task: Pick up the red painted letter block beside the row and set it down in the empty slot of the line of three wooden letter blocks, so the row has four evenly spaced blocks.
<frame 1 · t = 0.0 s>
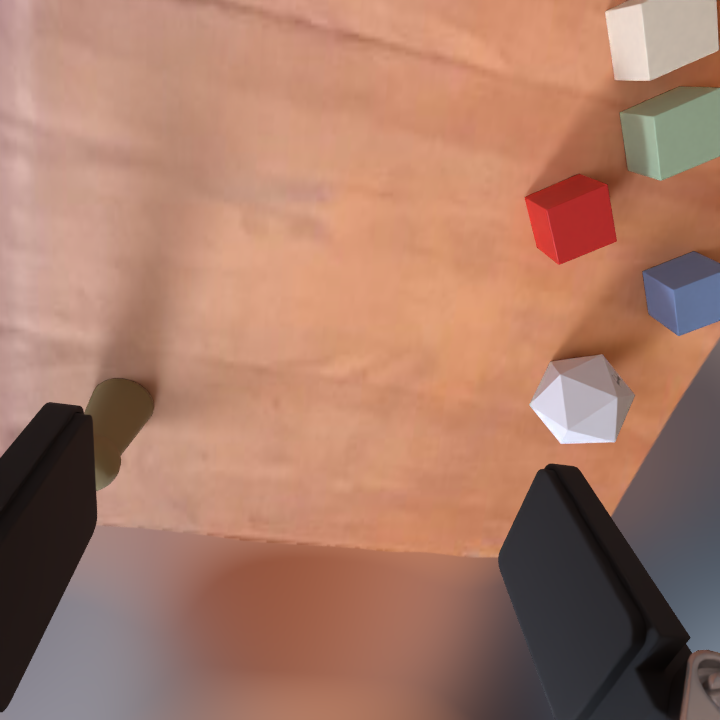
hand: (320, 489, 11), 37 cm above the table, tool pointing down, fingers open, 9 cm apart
die: (563, 378, 55), on the table
blue block: (670, 283, 50), on the table
red block: (557, 211, 46), on the table
cork: (123, 402, 53), on the table
cream block: (641, 32, 40), on the table
sage block: (652, 129, 43), on the table
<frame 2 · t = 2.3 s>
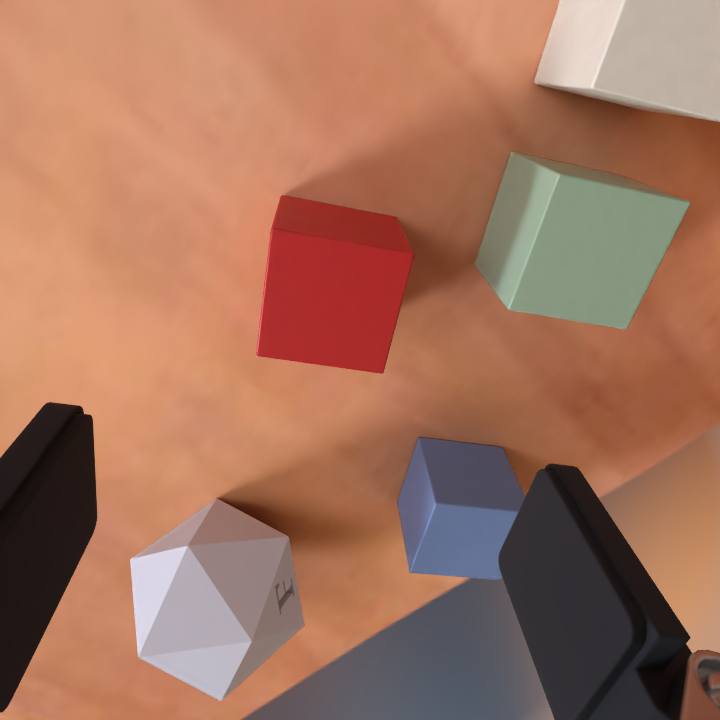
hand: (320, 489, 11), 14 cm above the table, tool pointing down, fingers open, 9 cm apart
die: (230, 531, 31), on the table
blue block: (448, 474, 30), on the table
red block: (329, 261, 23), on the table
cream block: (618, 24, 19), on the table
sage block: (543, 221, 23), on the table
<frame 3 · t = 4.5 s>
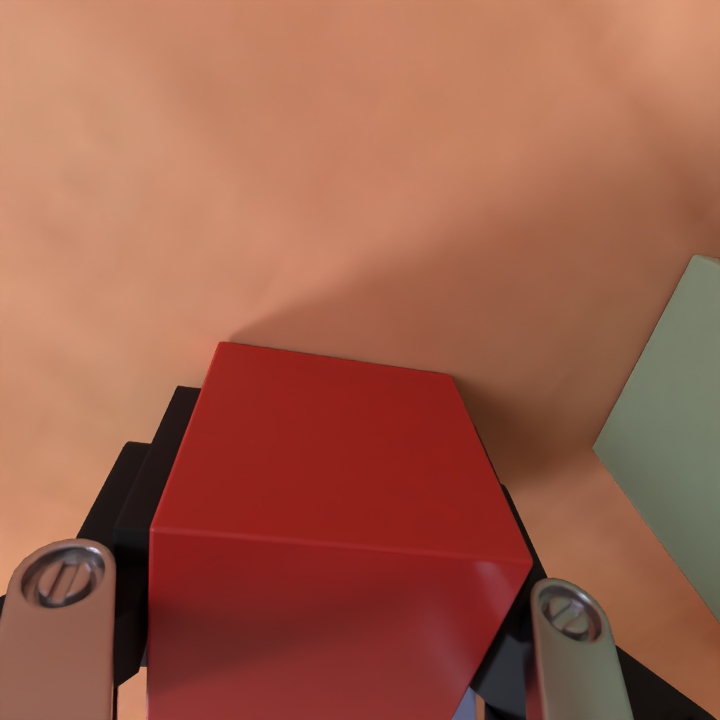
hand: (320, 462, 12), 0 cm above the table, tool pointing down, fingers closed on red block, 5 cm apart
red block: (320, 450, 12), on the table, touching gripper
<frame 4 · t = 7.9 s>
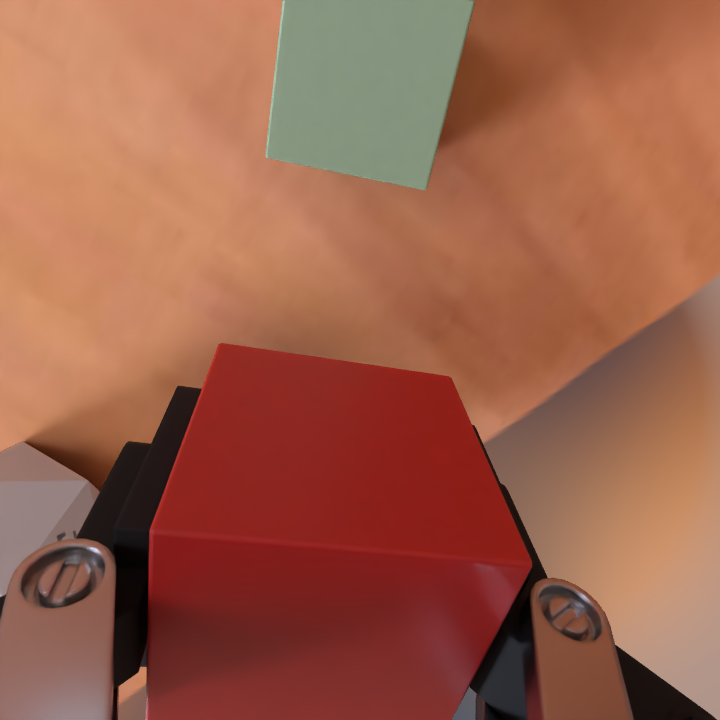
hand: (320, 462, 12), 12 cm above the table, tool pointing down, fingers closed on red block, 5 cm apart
die: (50, 484, 27), on the table
red block: (319, 451, 12), point 12 cm above the table, touching gripper
sage block: (354, 80, 19), on the table
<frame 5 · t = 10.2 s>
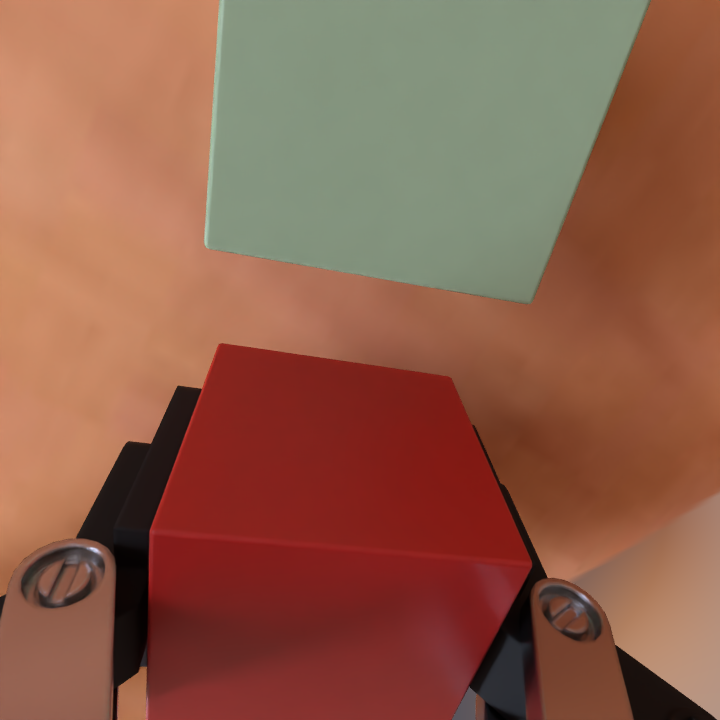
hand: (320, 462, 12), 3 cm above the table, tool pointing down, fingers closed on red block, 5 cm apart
red block: (319, 451, 12), point 3 cm above the table, touching gripper
sage block: (379, 84, 11), on the table
when the fingers open (0 cm above the table, at t = 11.5 s): red block stays where it is, on the table.
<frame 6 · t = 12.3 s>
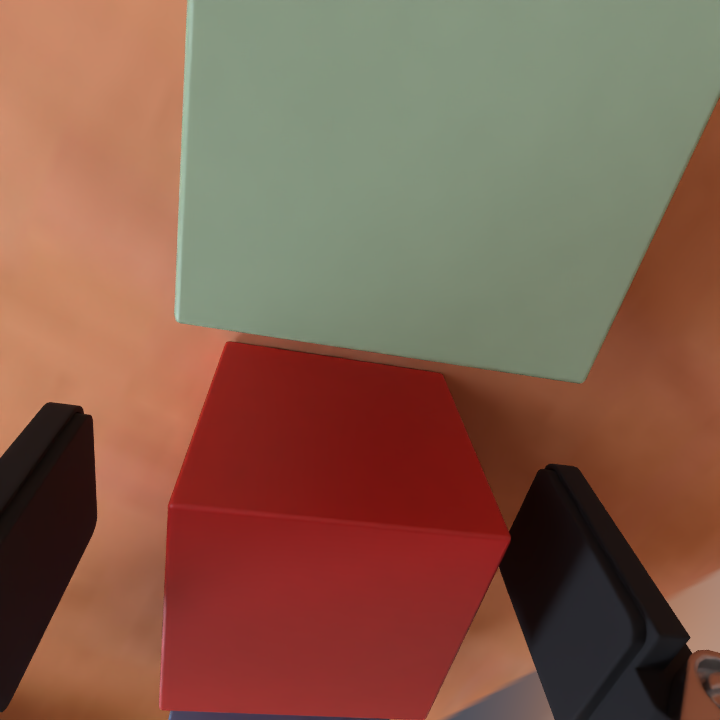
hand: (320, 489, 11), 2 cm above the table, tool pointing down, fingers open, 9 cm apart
blue block: (280, 628, 16), on the table
red block: (319, 443, 13), on the table
sage block: (389, 106, 9), on the table
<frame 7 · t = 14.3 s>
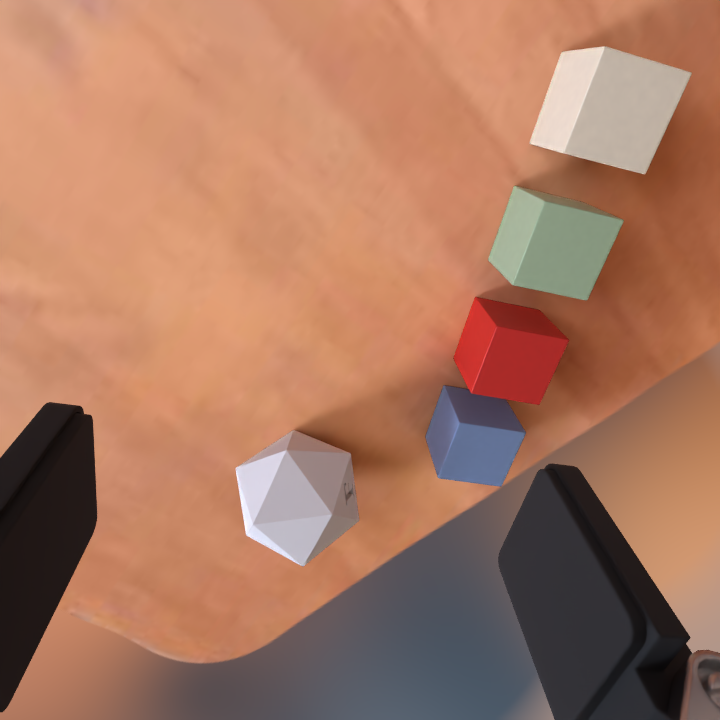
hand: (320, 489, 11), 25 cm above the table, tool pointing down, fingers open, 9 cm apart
die: (299, 458, 42), on the table
blue block: (463, 416, 41), on the table
red block: (495, 334, 38), on the table
cream block: (582, 109, 31), on the table
sage block: (534, 231, 34), on the table
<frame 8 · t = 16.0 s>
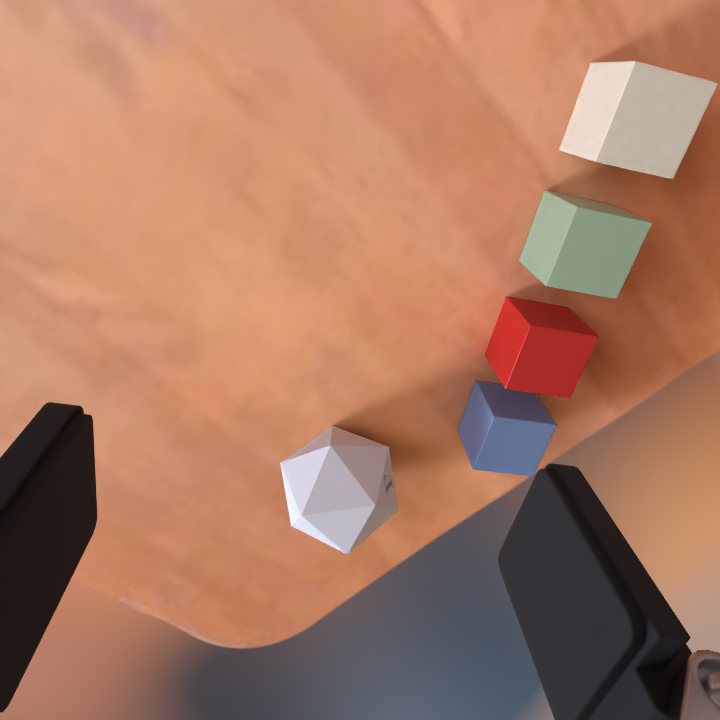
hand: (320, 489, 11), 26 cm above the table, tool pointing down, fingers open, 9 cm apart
die: (337, 452, 44), on the table
blue block: (494, 409, 43), on the table
red block: (525, 331, 39), on the table
cream block: (609, 116, 32), on the table
sage block: (564, 233, 36), on the table
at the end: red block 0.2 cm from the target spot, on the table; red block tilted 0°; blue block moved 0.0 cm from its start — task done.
